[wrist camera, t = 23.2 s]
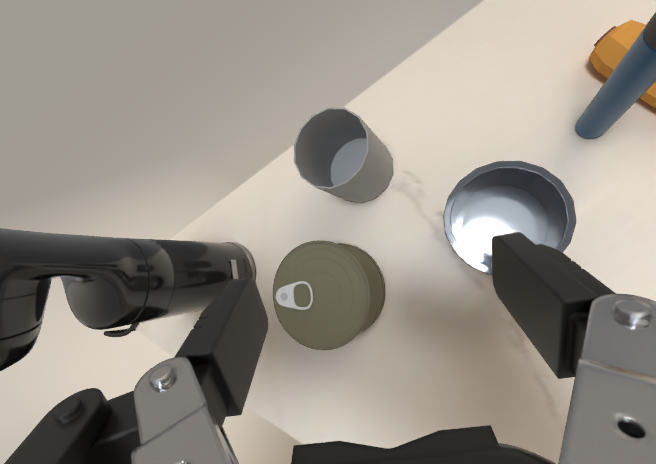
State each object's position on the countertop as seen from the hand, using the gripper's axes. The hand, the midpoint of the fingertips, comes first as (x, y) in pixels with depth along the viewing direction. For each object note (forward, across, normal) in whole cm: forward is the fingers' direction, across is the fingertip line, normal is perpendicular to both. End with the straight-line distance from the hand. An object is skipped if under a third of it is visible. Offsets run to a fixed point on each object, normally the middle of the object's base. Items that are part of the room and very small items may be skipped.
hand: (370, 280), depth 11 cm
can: (+27, +5, +18) cm, 32 cm away
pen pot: (+24, -14, +11) cm, 30 cm away
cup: (+33, -1, +4) cm, 33 cm away
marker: (+26, -24, +3) cm, 35 cm away
